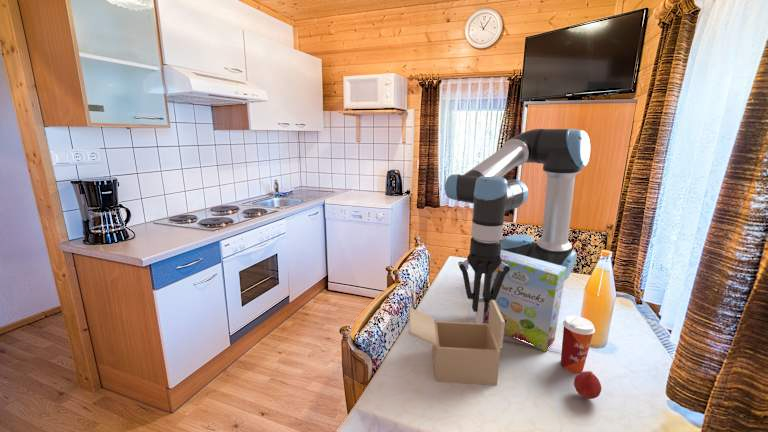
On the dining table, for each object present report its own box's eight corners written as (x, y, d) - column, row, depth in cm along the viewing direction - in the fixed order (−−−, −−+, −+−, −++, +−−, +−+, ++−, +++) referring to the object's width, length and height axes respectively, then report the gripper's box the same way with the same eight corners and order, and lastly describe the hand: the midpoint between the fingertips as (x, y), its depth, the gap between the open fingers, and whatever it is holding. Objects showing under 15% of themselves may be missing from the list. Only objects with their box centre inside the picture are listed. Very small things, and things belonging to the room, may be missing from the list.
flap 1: (410, 307, 101) (409, 309, 101) (410, 331, 89) (408, 334, 89) (433, 318, 101) (432, 320, 101) (436, 344, 89) (435, 346, 89)
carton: (486, 353, 103) (489, 323, 101) (496, 385, 91) (500, 352, 88) (432, 350, 104) (433, 320, 102) (434, 381, 92) (436, 348, 89)
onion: (567, 390, 89) (571, 363, 87) (588, 388, 90) (593, 362, 88) (581, 407, 84) (586, 379, 82) (603, 406, 84) (609, 378, 82)
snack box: (479, 325, 117) (486, 254, 111) (491, 315, 124) (498, 247, 117) (546, 354, 103) (558, 274, 97) (556, 341, 109) (568, 265, 103)
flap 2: (488, 321, 100) (491, 321, 100) (498, 348, 88) (502, 348, 88) (490, 297, 98) (493, 297, 98) (501, 321, 86) (505, 321, 86)
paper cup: (575, 379, 93) (584, 333, 89) (550, 362, 100) (557, 318, 96) (593, 370, 97) (602, 325, 93) (568, 354, 103) (575, 312, 100)
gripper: (508, 234, 91) (500, 315, 97) (458, 233, 92) (452, 313, 98) (517, 244, 83) (507, 331, 89) (462, 242, 84) (455, 328, 90)
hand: (478, 321), depth 94 cm, fingers closed
